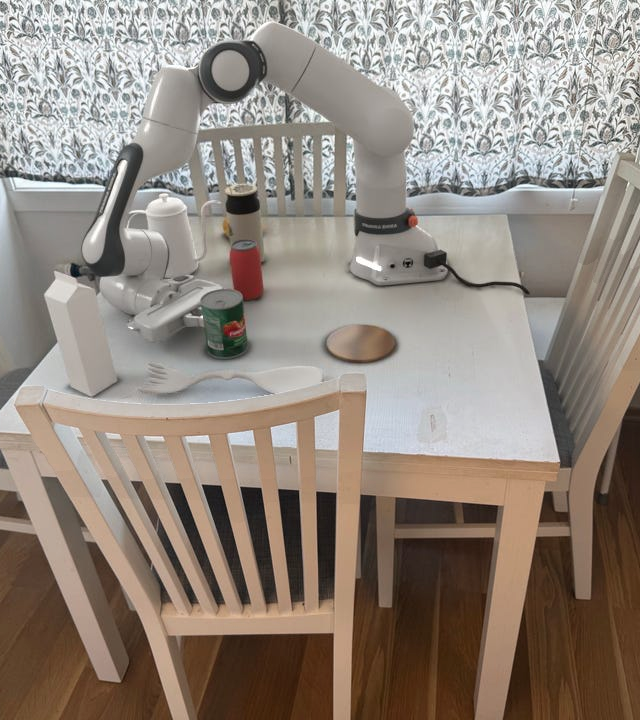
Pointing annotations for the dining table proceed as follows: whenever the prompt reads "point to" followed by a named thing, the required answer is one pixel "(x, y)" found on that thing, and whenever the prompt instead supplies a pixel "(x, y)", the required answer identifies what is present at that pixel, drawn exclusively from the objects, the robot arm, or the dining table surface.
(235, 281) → the beer can
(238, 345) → the canned tomato
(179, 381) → the white serving fork
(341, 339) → the wooden trivet
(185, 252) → the coffeepot
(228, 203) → the travel mug
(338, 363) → the dining table surface
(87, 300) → the milk
